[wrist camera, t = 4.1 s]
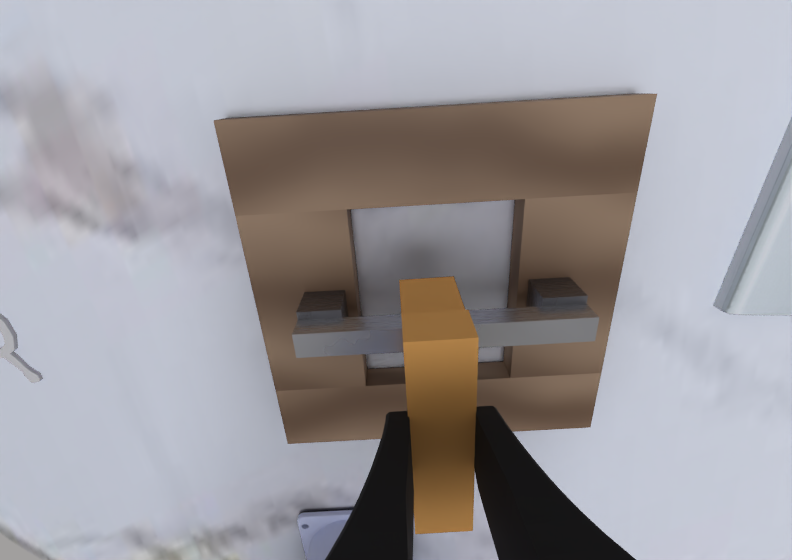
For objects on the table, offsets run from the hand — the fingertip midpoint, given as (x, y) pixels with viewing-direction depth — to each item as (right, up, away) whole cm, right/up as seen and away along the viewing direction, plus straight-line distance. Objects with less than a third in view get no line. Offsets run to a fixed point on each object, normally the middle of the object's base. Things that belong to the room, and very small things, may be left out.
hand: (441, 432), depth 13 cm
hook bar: (+1, +4, +8) cm, 8 cm away
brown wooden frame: (+1, +4, +9) cm, 10 cm away
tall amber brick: (0, +2, +4) cm, 4 cm away
